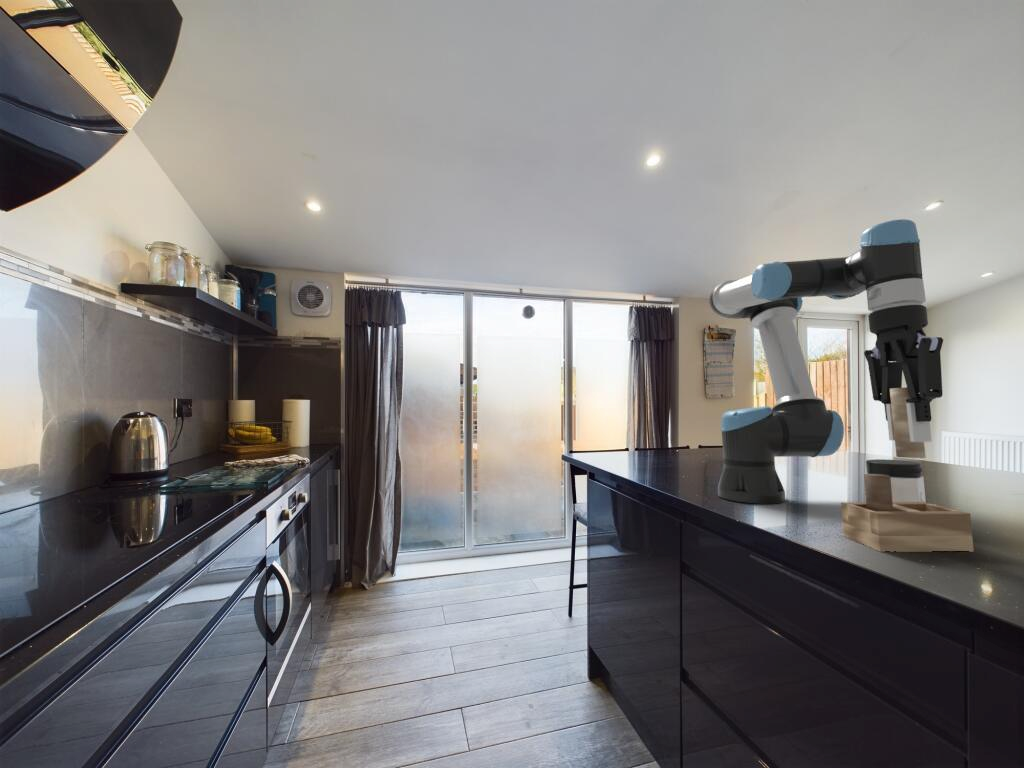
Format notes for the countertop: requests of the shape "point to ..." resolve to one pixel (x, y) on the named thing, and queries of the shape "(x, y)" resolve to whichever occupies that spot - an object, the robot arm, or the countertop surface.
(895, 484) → the jar
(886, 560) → the countertop surface
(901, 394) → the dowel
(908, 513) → the wooden divided box
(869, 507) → the stub
